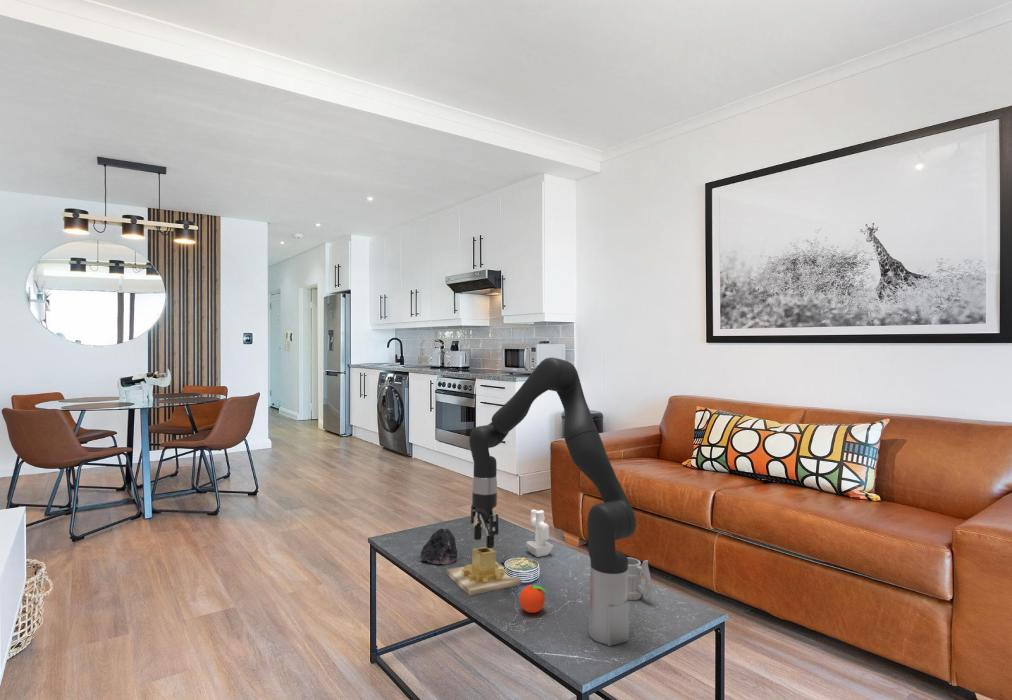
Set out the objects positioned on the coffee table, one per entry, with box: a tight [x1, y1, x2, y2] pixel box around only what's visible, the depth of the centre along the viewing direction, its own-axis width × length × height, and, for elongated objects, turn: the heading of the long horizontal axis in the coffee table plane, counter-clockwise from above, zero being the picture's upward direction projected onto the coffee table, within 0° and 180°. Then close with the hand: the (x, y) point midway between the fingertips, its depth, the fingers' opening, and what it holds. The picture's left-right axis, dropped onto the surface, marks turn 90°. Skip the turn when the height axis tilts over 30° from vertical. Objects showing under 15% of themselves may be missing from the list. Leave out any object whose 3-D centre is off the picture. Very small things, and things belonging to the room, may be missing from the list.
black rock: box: [420, 528, 458, 565], centre depth 192 cm, size 13×14×10 cm
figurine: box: [524, 509, 554, 558], centre depth 198 cm, size 7×9×15 cm
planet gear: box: [462, 546, 505, 584], centre depth 175 cm, size 12×12×8 cm
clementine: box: [519, 584, 549, 614], centre depth 155 cm, size 8×7×7 cm
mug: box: [627, 557, 653, 601], centre depth 165 cm, size 8×12×12 cm, turn 37°
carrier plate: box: [446, 561, 522, 596], centre depth 175 cm, size 17×17×8 cm
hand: (483, 543), depth 175 cm, fingers open, 8 cm apart
